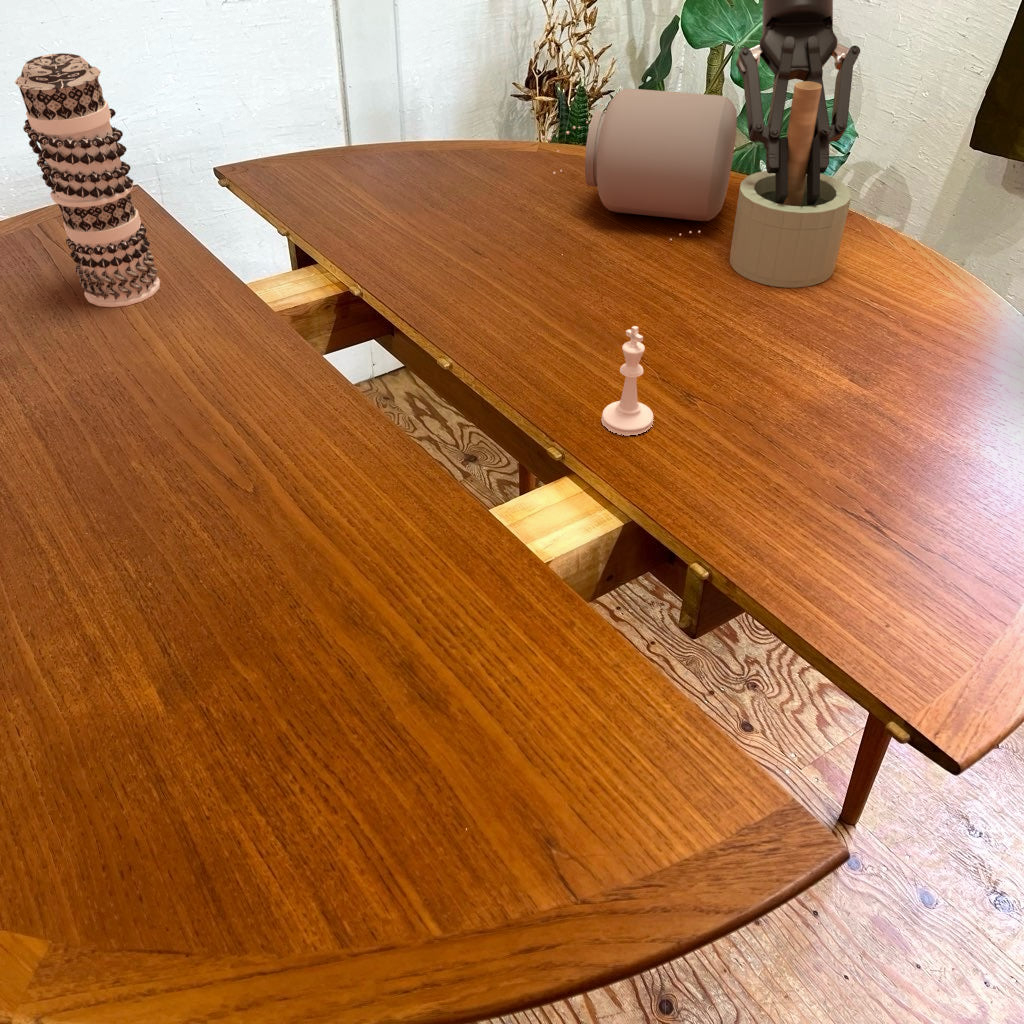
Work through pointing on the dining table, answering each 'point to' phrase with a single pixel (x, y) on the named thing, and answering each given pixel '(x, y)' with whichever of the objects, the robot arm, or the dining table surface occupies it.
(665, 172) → the jar
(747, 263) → the gray beige cylindrical container
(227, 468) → the dining table surface
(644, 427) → the chess piece
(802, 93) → the brush
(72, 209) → the decorative candle
